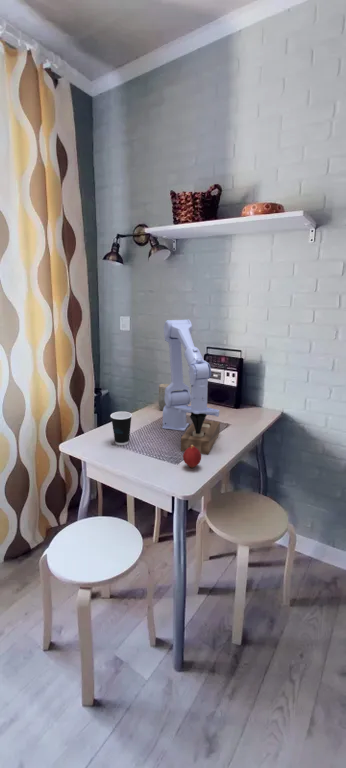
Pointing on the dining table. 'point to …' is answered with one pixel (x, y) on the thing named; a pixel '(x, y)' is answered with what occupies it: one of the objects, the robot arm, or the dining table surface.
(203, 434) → the peg front
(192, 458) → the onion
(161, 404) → the carving
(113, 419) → the dixie cup
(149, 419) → the dining table surface
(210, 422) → the walnut block
